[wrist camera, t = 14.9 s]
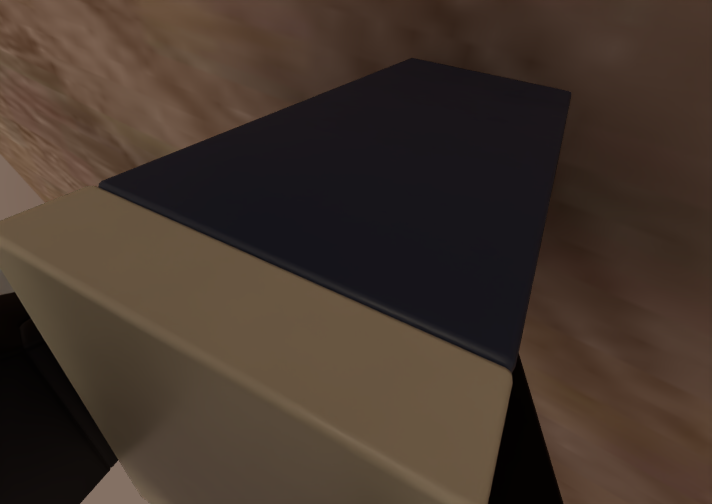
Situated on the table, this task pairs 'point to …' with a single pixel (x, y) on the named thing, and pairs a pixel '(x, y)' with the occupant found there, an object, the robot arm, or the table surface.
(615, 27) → the table surface
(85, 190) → the carton
